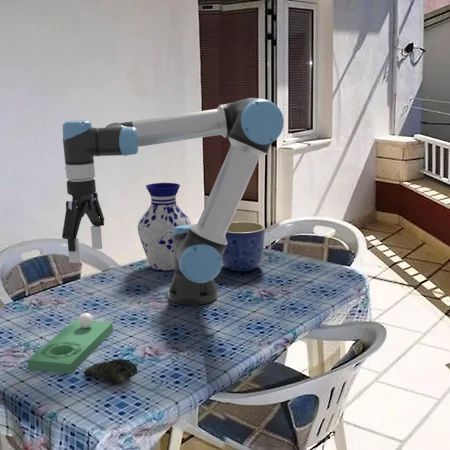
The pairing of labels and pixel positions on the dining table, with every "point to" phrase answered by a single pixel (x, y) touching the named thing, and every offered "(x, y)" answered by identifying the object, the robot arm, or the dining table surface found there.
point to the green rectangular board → (70, 347)
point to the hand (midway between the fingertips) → (86, 255)
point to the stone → (112, 371)
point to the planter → (243, 246)
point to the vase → (161, 226)
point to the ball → (85, 320)
